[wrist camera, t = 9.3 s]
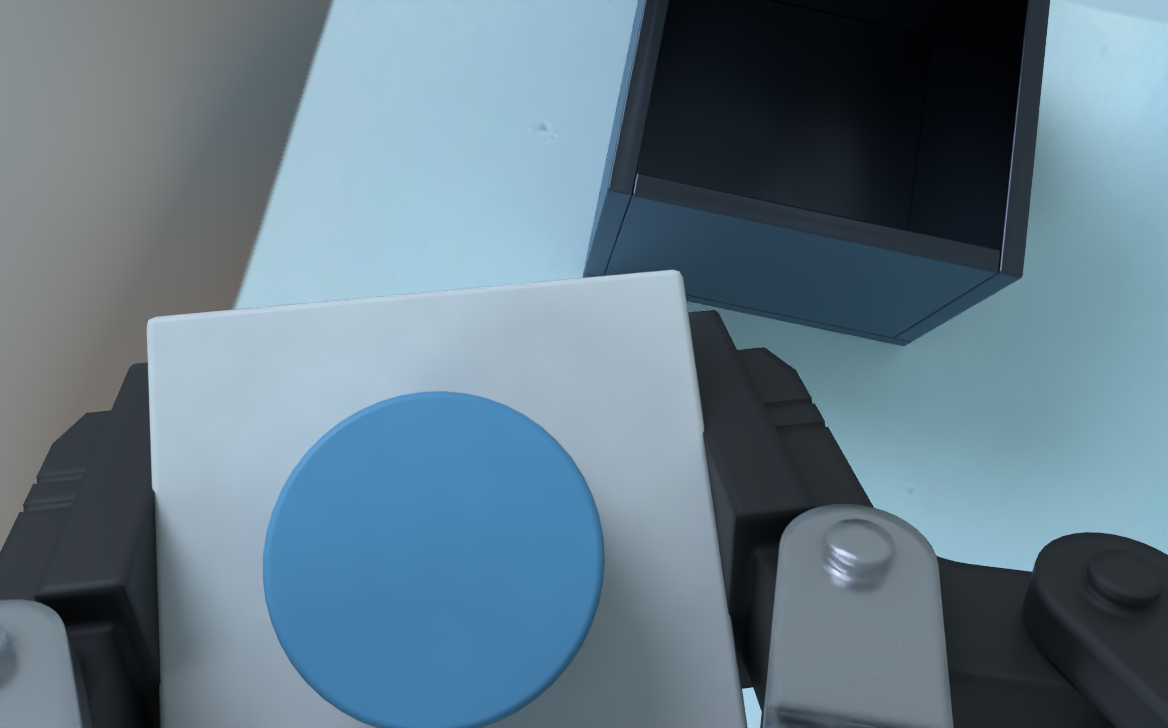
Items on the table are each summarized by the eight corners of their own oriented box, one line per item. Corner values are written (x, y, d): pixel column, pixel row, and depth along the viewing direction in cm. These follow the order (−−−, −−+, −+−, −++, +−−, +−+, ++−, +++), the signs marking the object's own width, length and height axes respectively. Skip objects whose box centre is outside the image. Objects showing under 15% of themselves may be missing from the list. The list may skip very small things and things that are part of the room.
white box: (317, 761, 15) (101, 969, 7) (297, 431, 16) (86, 273, 8) (646, 716, 16) (807, 860, 8) (607, 399, 17) (710, 218, 9)
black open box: (904, 346, 42) (1023, 277, 33) (582, 279, 42) (607, 189, 32) (943, 33, 46) (1062, -113, 36) (644, -34, 45) (684, -200, 35)
